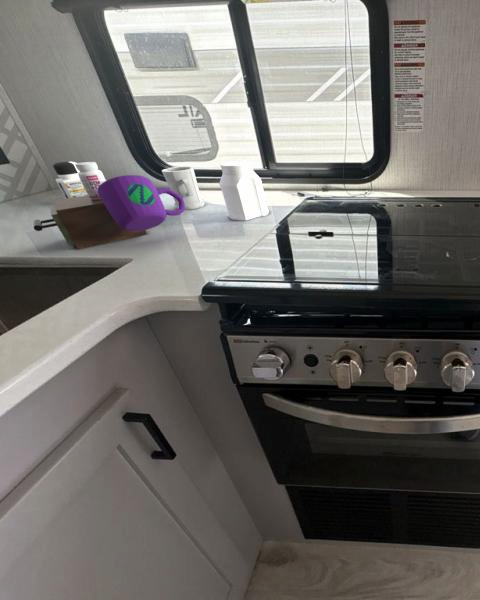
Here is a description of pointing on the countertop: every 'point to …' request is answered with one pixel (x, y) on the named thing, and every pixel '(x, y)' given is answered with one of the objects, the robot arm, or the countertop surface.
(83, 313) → the countertop surface
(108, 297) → the countertop surface
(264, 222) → the countertop surface
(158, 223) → the mug
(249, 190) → the jar
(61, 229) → the drawer
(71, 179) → the container
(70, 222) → the cabinet
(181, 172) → the cup
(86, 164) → the pill bottle
